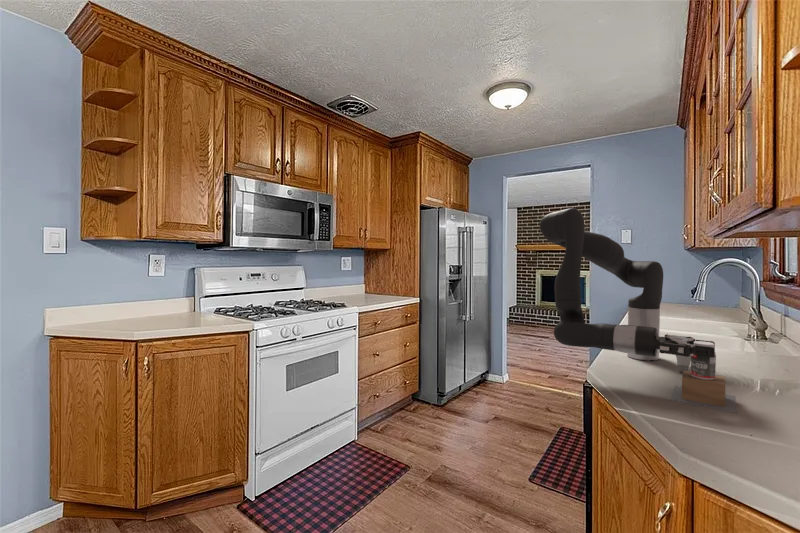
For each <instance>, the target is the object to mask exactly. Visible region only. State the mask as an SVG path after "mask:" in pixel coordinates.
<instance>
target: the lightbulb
mask: <svg viewBox="0 0 800 533" xmlns="http://www.w3.org/2000/svg"><path fill="white" fill-rule="evenodd" d="M675 358H676V363H677V366H678V367H677V369H678V371H679V372H680V373H681V374H683V372H684V371H690V366H691V356H690V357H686V356H680V355H675Z"/></svg>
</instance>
